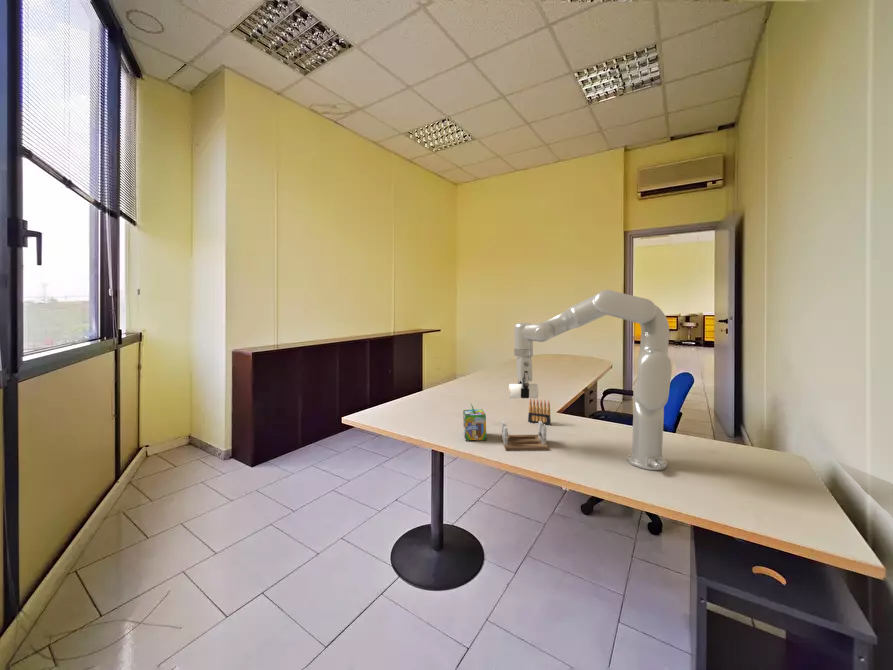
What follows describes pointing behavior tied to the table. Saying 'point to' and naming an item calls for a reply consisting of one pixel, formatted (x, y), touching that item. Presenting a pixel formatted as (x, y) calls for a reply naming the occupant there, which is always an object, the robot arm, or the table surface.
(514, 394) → the roll
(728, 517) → the table surface
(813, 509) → the table surface
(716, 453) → the table surface
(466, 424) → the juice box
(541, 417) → the ammunition clip
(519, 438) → the holder
